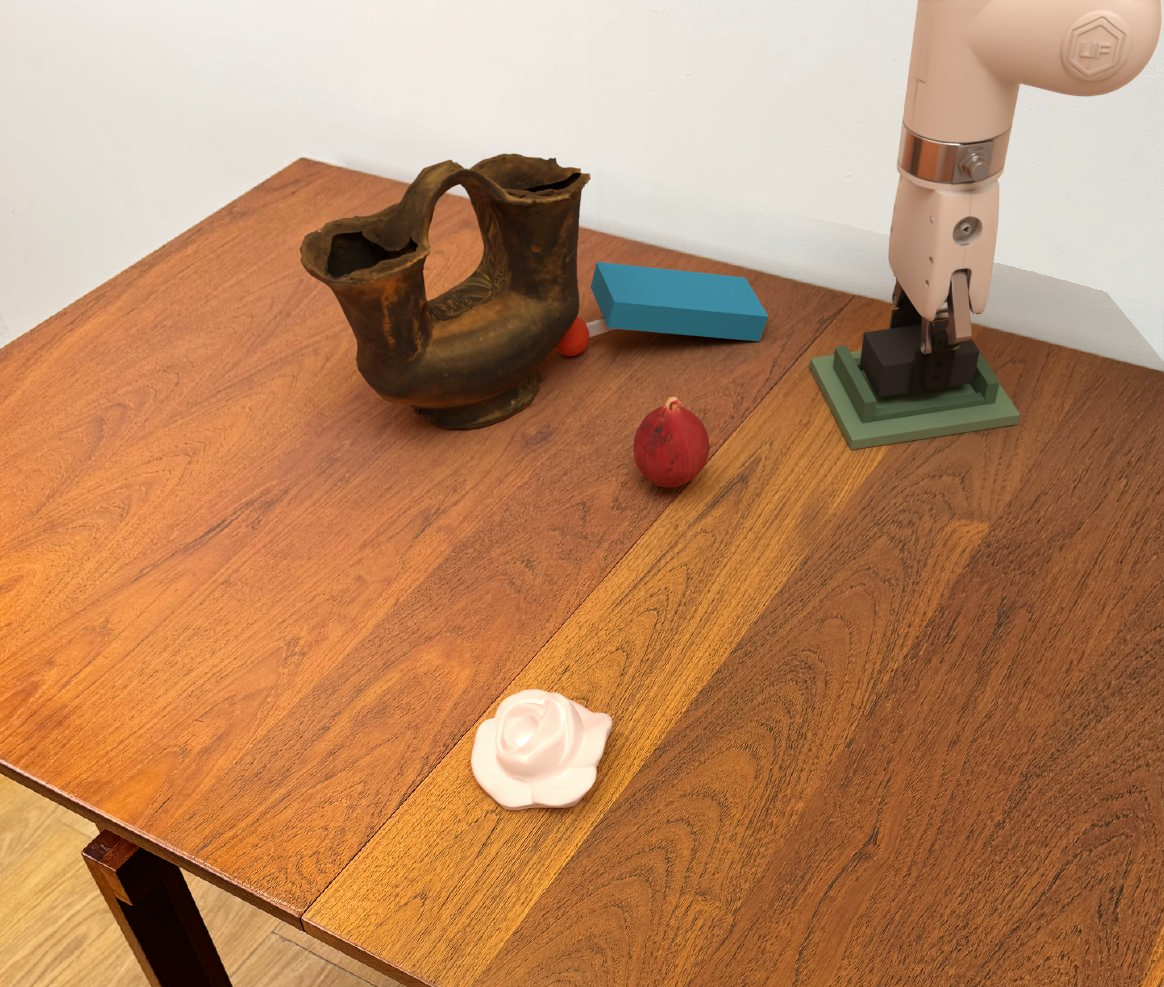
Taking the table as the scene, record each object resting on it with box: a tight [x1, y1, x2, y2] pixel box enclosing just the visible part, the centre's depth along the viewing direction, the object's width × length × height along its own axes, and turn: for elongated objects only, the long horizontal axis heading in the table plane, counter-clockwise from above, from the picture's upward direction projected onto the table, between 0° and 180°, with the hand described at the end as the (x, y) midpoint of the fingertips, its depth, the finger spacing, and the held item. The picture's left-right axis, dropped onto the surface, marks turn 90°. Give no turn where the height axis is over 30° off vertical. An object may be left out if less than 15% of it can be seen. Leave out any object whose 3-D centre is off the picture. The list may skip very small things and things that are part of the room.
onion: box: [633, 395, 711, 489], centre depth 96 cm, size 6×6×8 cm
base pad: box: [809, 344, 1021, 451], centre depth 104 cm, size 14×12×3 cm
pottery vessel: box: [299, 153, 591, 430], centre depth 101 cm, size 25×11×20 cm, turn 129°
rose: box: [470, 688, 613, 811], centre depth 81 cm, size 10×4×10 cm
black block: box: [860, 319, 980, 398], centre depth 102 cm, size 8×5×3 cm, turn 99°
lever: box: [555, 261, 769, 357], centre depth 112 cm, size 7×7×18 cm
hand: (917, 369), depth 103 cm, fingers closed on black block, 4 cm apart
